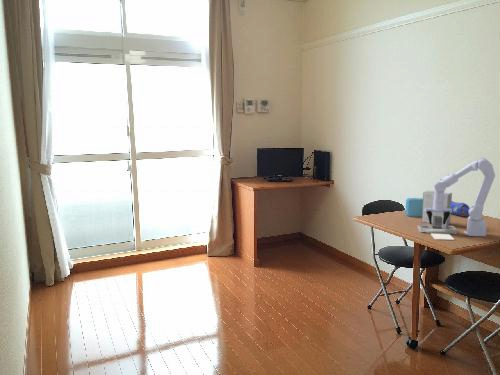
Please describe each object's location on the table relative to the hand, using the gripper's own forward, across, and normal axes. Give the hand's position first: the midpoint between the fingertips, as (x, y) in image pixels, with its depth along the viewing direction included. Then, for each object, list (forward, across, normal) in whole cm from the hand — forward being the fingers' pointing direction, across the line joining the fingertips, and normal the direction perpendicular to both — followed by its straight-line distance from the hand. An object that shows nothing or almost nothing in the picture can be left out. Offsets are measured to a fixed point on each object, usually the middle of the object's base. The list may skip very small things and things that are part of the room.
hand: (437, 223), depth 244 cm
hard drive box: (+5, -4, -19) cm, 20 cm away
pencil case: (+5, -21, -45) cm, 50 cm away
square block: (+5, 0, 0) cm, 5 cm away
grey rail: (+5, 0, 0) cm, 5 cm away
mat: (+4, 0, +12) cm, 13 cm away
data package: (+5, +5, -36) cm, 37 cm away
